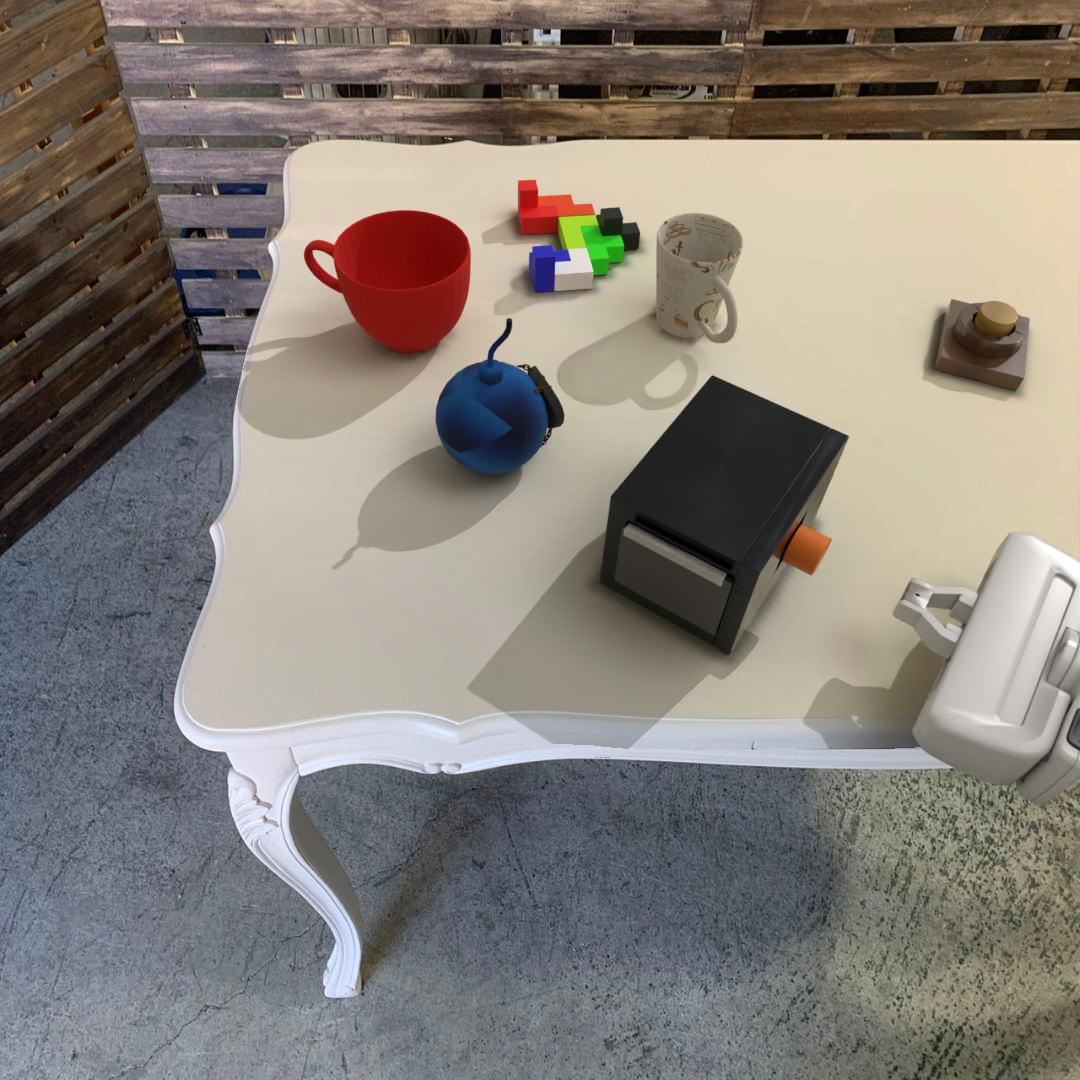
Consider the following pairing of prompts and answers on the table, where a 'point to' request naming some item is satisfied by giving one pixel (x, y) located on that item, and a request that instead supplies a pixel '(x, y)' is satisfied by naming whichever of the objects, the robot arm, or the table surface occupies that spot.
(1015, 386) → the button block
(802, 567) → the oven button
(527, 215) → the building blocks
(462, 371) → the bomb
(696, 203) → the table surface
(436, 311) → the ceramic cup
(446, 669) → the table surface
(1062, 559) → the robot arm
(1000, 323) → the button
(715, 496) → the oven
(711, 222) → the mug
